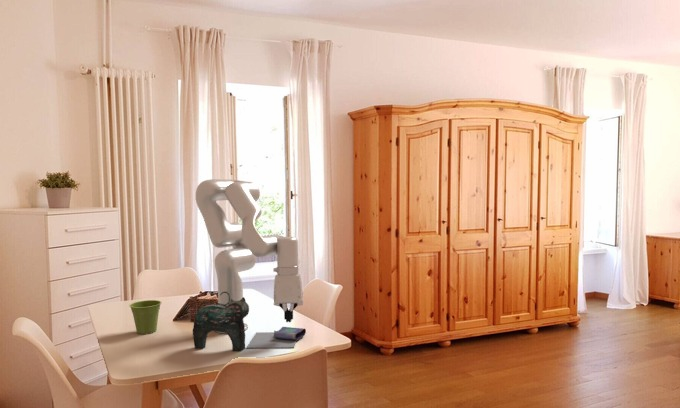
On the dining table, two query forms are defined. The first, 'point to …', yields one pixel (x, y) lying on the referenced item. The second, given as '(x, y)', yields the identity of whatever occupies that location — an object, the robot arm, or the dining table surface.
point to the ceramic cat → (221, 322)
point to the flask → (290, 333)
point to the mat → (269, 341)
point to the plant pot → (146, 315)
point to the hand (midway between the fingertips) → (288, 321)
